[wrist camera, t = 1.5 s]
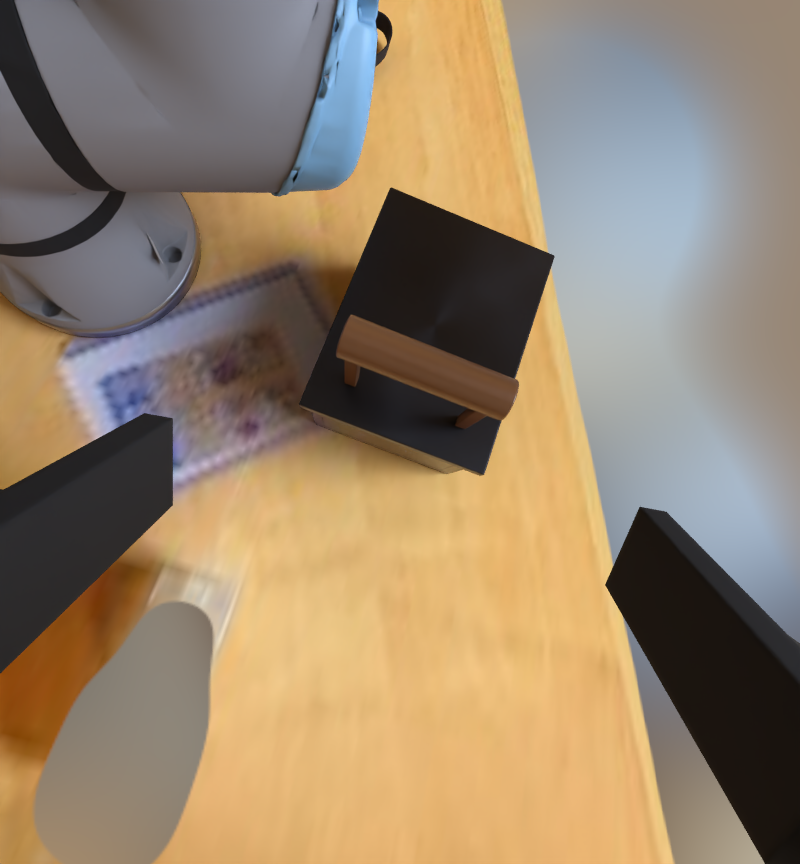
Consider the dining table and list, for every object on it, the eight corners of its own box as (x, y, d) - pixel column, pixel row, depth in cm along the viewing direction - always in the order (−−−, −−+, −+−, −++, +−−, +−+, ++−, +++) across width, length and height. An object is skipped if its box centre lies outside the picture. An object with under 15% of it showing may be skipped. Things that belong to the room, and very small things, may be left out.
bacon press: (480, 476, 27) (539, 464, 19) (299, 407, 26) (280, 364, 18) (549, 262, 30) (626, 171, 22) (389, 195, 29) (406, 75, 21)
